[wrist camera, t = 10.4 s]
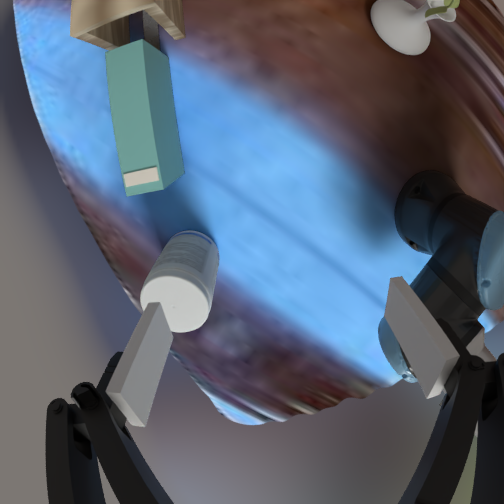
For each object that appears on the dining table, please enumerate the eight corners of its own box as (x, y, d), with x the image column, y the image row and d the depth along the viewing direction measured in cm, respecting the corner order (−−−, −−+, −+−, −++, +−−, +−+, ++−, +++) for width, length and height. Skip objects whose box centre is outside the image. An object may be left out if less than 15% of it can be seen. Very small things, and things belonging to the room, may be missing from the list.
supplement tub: (155, 246, 47) (123, 293, 34) (198, 217, 45) (176, 259, 31) (189, 287, 50) (170, 342, 37) (231, 263, 48) (224, 317, 35)
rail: (156, -3, 28) (156, -4, 28) (177, 174, 41) (177, 174, 41) (142, 1, 28) (142, 0, 28) (163, 176, 42) (163, 176, 41)
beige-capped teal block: (168, 57, 33) (141, 38, 23) (184, 173, 41) (163, 189, 31) (138, 65, 33) (104, 52, 23) (155, 178, 41) (126, 197, 31)
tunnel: (181, -1, 28) (152, -45, 15) (185, 37, 32) (154, 1, 18) (120, 18, 29) (72, -11, 15) (122, 56, 32) (70, 36, 19)
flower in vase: (400, -5, 26) (484, -54, 3) (434, 47, 30) (537, 29, 8) (345, 11, 29) (422, -60, 7) (385, 68, 33) (494, 41, 11)
